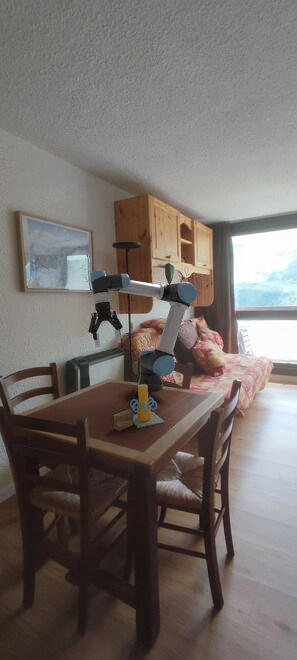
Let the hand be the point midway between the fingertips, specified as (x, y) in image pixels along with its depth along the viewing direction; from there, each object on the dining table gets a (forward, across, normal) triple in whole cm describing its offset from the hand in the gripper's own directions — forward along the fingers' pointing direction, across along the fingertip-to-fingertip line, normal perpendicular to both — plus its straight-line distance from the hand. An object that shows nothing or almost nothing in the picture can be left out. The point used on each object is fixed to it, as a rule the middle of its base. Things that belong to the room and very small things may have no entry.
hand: (108, 344), depth 148 cm
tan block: (+34, +15, +20) cm, 42 cm away
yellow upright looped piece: (+34, +5, +22) cm, 41 cm away
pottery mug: (+32, -15, +1) cm, 35 cm away
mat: (+34, +4, +22) cm, 41 cm away
